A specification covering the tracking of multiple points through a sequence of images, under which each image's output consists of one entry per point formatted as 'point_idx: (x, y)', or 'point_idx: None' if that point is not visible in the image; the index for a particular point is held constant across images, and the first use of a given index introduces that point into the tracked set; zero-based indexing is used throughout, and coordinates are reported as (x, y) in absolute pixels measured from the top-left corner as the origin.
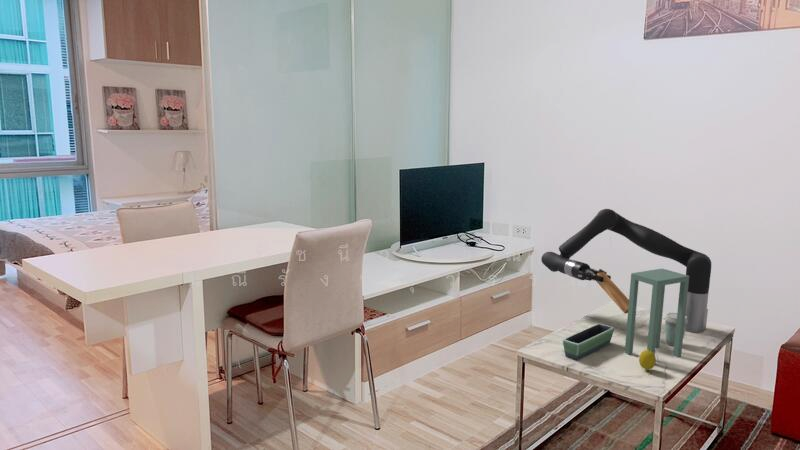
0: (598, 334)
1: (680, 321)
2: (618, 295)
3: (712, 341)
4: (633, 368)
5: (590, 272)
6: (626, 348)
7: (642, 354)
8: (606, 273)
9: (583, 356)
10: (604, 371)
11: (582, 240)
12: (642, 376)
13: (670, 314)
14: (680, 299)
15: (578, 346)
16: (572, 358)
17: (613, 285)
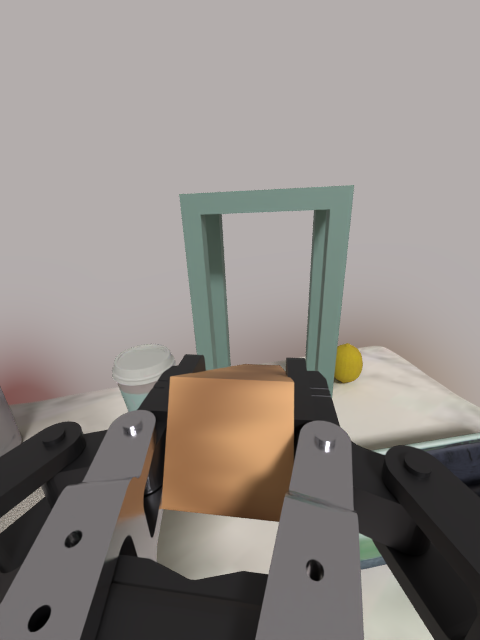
0: (426, 444)
1: (227, 316)
2: (277, 367)
3: (77, 398)
4: (365, 394)
5: (356, 526)
6: None
7: (360, 354)
8: (65, 433)
9: None
10: (447, 408)
11: None
12: (369, 374)
13: (137, 366)
14: (222, 265)
15: None
16: None
17: (243, 368)
